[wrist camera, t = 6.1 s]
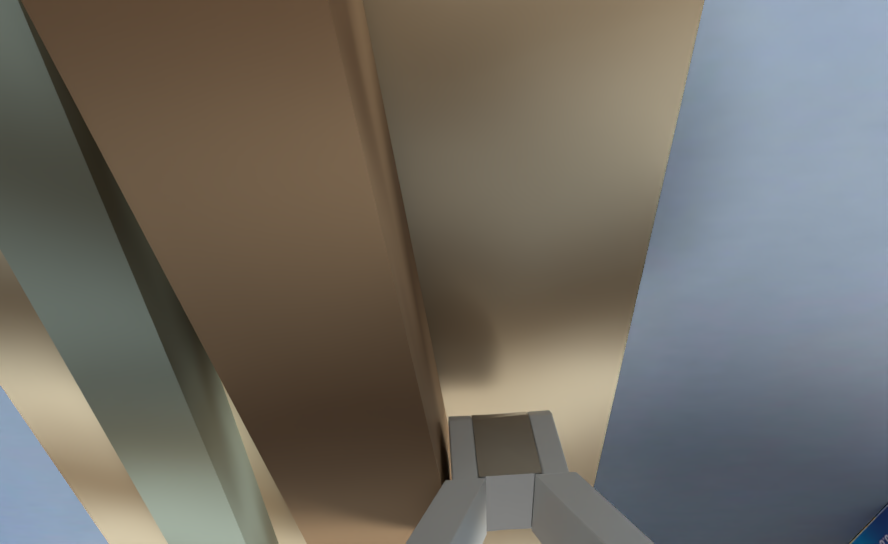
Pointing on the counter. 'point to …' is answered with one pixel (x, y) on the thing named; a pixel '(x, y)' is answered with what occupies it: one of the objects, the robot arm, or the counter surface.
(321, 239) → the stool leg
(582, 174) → the wooden board
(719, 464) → the counter surface
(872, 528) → the beverage box
